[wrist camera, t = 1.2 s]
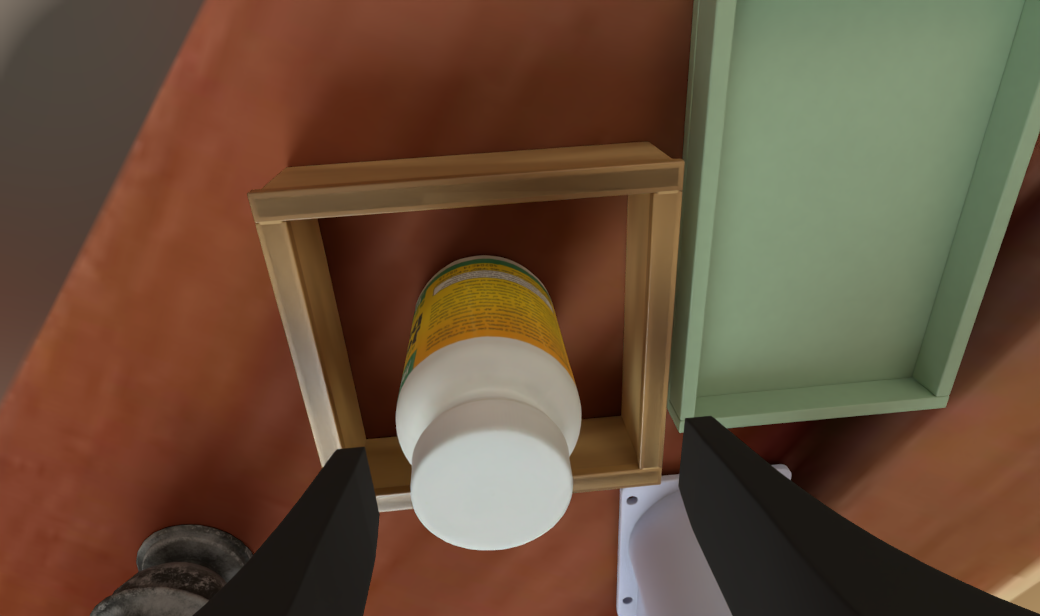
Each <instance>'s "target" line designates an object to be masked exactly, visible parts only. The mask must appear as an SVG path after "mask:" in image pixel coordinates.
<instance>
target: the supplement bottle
mask: <svg viewBox="0 0 1040 616" xmlns="http://www.w3.org/2000/svg"><path fill="white" fill-rule="evenodd" d="M580 428H581V404H580V398H579V395H578V391H577V387H576V384H575V380H574V377H573V373H572V370H571V367H570V364H569V360H568V357H567V353H566V350H565V346H564V343H563V339H562V335H561V332H560V328H559V325H558V321H557V317H556V314H555V310H554V307H553V303H552V300H551V298H550V296H549V294H548V292H547V290H546V288H545V286H544V285H543V284H542V282H541V281H540V280H539V279H538V278H537V277H536V276H535V275H534V274H533V273H531V272H530V271H529V270H528V269H526V268H525V267H523V266H522V265H520V264H518V263H516V262H514V261H512V260H509V259H506V258H503V257H498V256H489V255H479V256H471V257H466V258H462V259H459V260H456V261H454V262H452V263H450V264H449V265H447V266H446V267H444V268H443V269H441V270H440V271H439V272H437V273H436V274H435V275H434V276H433V277H432V278H431V279H430V280H429V282H428V283H427V284H426V286H425V287H424V289H423V290H422V292H421V294H420V296H419V298H418V301H417V304H416V308H415V313H414V317H413V323H412V329H411V334H410V340H409V345H408V350H407V356H406V360H405V365H404V370H403V376H402V381H401V385H400V391H399V396H398V400H397V408H396V430H397V436H398V439H399V443H400V446H401V448H402V451H403V453H404V454H405V456H406V458H407V460H408V461H409V463H410V464H411V465H412V473H411V485H410V489H411V501H412V505H413V508H414V511H415V513H416V515H417V516H418V518H419V520H420V521H421V522H422V524H423V525H424V526H425V527H426V528H427V529H428V530H429V531H430V532H432V533H433V534H434V535H436V536H437V537H439V538H441V539H442V540H444V541H446V542H448V543H451V544H452V545H456V546H459V547H463V548H467V549H475V550H502V549H508V548H512V547H516V546H519V545H522V544H525V543H528V542H530V541H532V540H534V539H536V538H538V537H539V536H541V535H543V534H544V533H546V532H547V531H548V530H549V529H551V528H552V527H553V526H554V525H555V524H556V523H557V522H558V521H559V520H560V519H561V517H562V516H563V515H564V513H565V511H566V509H567V507H568V505H569V503H570V500H571V496H572V492H573V476H572V470H571V465H570V460H569V457H570V455H571V453H572V452H573V450H574V448H575V445H576V443H577V440H578V437H579V434H580Z"/></svg>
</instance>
